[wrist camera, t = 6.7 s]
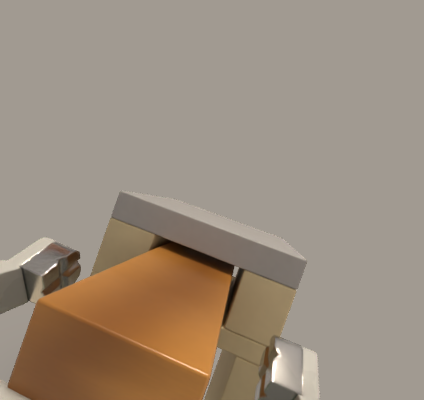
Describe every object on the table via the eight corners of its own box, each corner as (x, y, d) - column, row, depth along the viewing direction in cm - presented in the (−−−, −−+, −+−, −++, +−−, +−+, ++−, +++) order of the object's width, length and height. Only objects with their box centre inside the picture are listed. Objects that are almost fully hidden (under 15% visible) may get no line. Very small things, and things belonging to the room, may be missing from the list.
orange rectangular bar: (-3, 406, 6) (35, 297, 6) (183, 259, 23) (193, 231, 23) (167, 497, 5) (210, 376, 5) (228, 276, 22) (238, 248, 22)
